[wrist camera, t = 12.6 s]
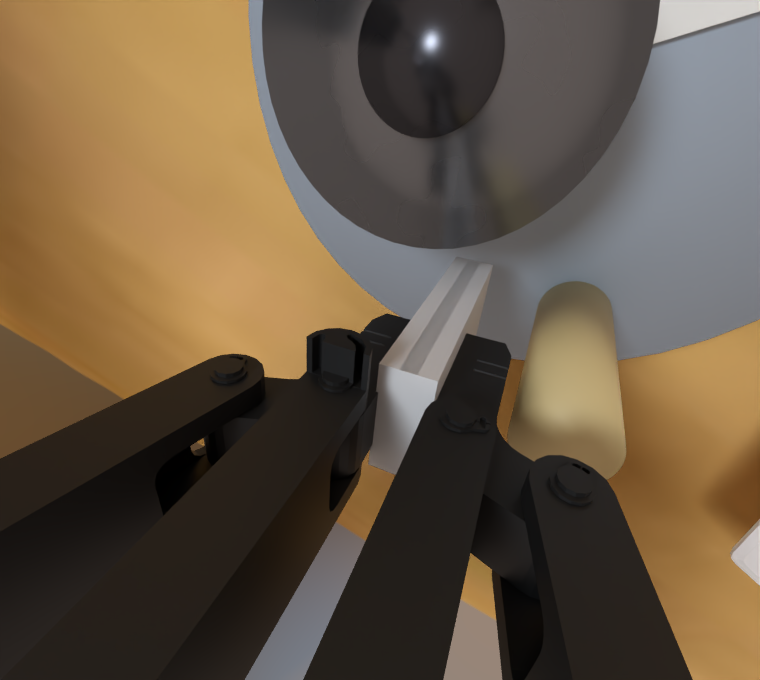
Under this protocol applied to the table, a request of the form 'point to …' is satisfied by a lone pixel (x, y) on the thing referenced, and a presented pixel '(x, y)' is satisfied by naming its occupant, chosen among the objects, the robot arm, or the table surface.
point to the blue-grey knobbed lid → (602, 237)
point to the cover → (452, 105)
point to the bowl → (749, 553)
